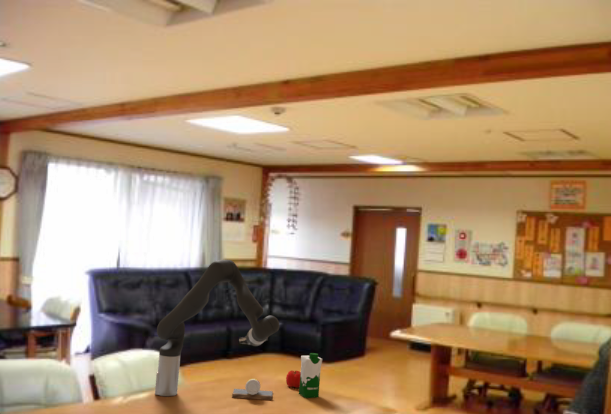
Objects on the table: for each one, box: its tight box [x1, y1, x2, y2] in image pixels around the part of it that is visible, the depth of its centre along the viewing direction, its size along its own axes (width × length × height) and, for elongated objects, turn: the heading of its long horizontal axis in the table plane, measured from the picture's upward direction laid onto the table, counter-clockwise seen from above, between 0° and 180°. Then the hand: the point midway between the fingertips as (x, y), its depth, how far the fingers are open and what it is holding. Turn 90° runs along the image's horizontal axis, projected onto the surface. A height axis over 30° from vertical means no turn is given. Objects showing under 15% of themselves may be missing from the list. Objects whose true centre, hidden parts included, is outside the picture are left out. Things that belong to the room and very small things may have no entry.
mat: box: [232, 388, 273, 397], centre depth 278 cm, size 18×10×1 cm, turn 93°
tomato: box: [285, 370, 301, 389], centre depth 297 cm, size 9×9×8 cm
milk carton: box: [298, 352, 323, 399], centre depth 283 cm, size 9×9×20 cm
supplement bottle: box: [244, 377, 261, 395], centre depth 275 cm, size 7×7×13 cm
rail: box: [231, 392, 273, 401], centre depth 271 cm, size 18×2×2 cm, turn 93°
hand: (249, 342), depth 265 cm, fingers closed
